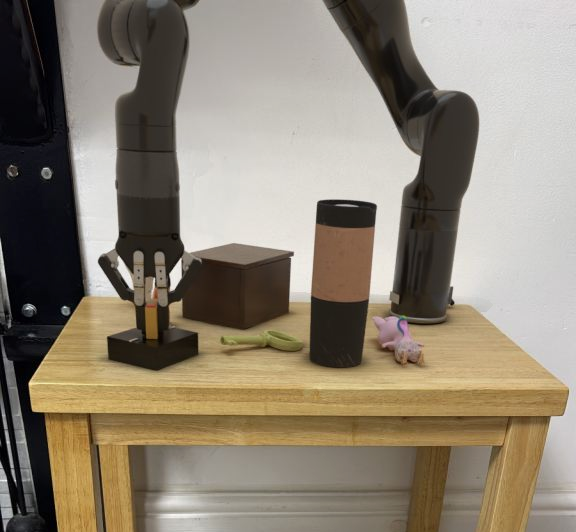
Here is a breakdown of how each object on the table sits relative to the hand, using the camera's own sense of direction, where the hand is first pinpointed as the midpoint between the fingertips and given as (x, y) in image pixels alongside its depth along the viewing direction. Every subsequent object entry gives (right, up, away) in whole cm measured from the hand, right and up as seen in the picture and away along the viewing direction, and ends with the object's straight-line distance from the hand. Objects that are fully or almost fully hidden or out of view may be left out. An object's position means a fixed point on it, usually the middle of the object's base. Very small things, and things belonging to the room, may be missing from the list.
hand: (152, 332), depth 102 cm
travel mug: (+24, -3, +4) cm, 25 cm away
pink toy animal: (+33, -1, +9) cm, 34 cm away
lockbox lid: (+10, +16, +20) cm, 27 cm away
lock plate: (0, -3, +2) cm, 3 cm away
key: (+14, 0, +8) cm, 16 cm away
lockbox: (+9, +8, +24) cm, 27 cm away
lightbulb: (-6, +10, +26) cm, 29 cm away
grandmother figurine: (-1, +4, +14) cm, 15 cm away
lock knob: (0, 0, 0) cm, 0 cm away
